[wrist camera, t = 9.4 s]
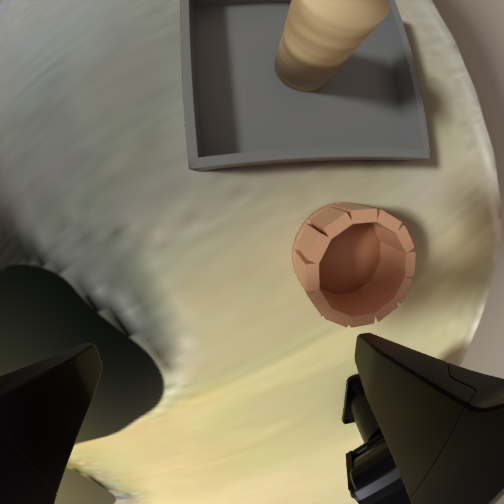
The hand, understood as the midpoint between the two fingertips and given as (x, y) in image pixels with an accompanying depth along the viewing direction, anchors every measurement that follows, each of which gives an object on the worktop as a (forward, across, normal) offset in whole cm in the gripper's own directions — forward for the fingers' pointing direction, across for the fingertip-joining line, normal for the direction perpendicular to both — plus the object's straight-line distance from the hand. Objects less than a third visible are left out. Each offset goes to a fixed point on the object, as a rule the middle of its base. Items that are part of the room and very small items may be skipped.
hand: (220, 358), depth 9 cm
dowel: (+12, -6, -14) cm, 19 cm away
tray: (+13, -6, -14) cm, 20 cm away
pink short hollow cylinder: (+13, -8, 0) cm, 15 cm away
